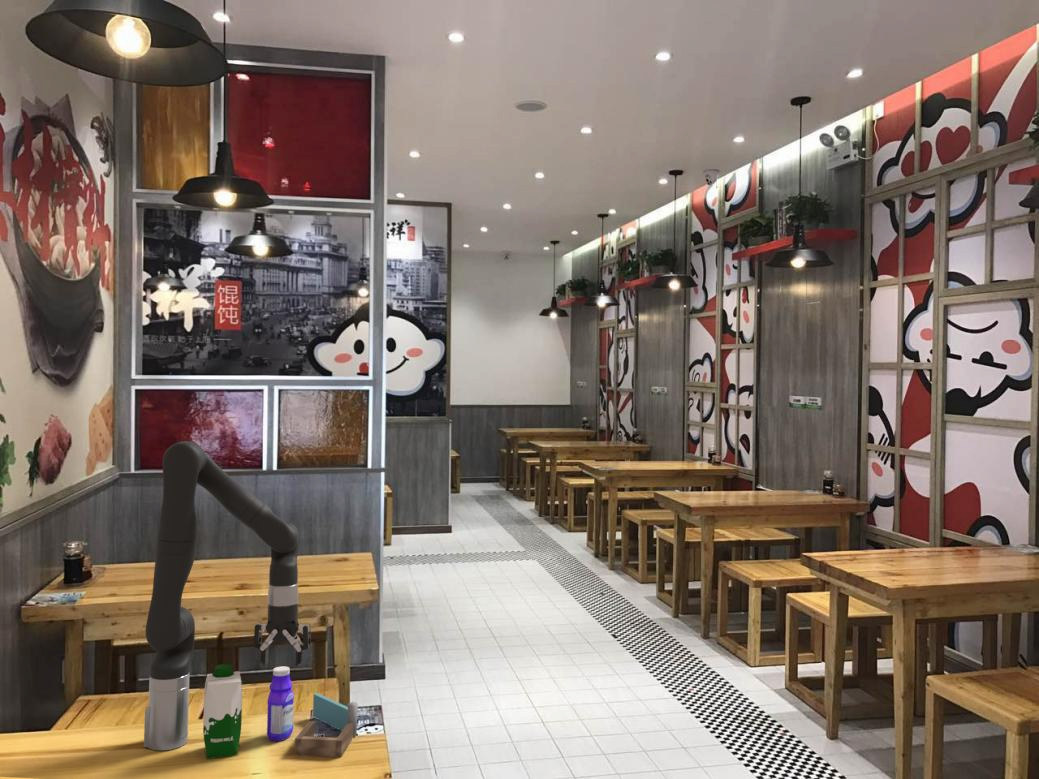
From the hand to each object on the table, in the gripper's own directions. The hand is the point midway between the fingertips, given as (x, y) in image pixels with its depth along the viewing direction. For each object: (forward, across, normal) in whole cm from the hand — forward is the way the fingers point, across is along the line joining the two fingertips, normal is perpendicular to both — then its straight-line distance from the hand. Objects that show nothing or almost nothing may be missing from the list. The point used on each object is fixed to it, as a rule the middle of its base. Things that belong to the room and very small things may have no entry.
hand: (281, 664), depth 210 cm
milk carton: (+18, -11, -10) cm, 24 cm away
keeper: (+18, +12, +8) cm, 23 cm away
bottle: (+18, 0, 0) cm, 19 cm away
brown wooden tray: (+18, +13, -4) cm, 23 cm away
